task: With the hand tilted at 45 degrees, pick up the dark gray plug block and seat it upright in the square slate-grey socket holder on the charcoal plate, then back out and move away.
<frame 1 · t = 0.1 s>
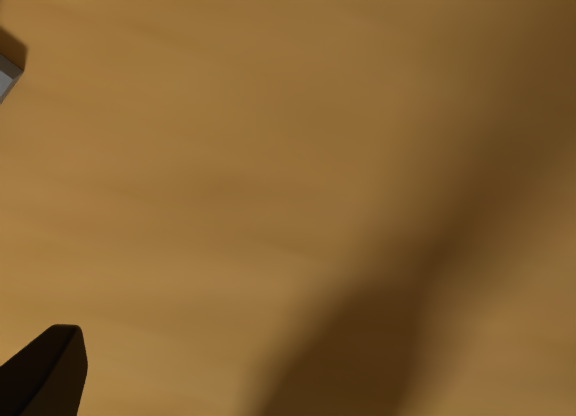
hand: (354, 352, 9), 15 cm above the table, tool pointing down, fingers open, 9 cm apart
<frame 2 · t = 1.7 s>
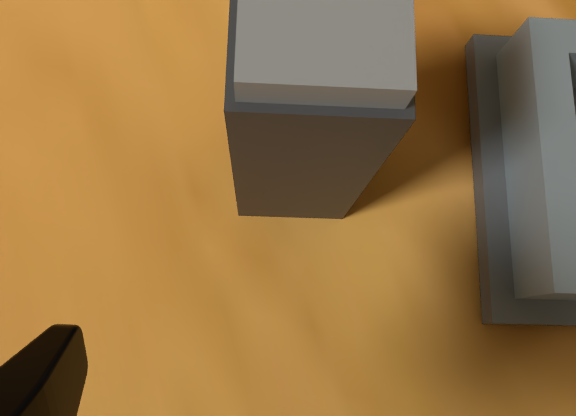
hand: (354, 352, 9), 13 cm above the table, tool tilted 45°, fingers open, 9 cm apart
dark gray plug block: (291, 167, 24), on the table
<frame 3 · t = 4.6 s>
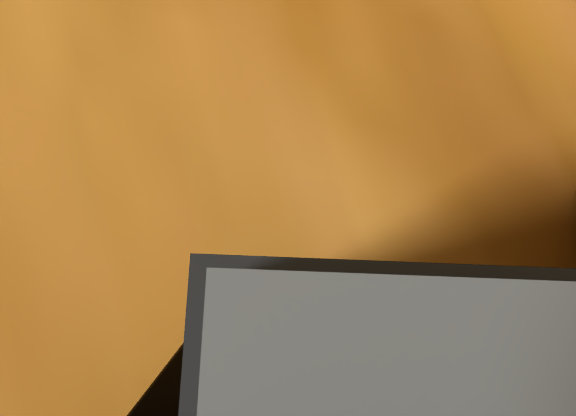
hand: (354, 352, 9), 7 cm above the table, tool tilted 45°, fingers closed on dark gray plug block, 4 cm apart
dark gray plug block: (312, 399, 15), on the table, touching gripper
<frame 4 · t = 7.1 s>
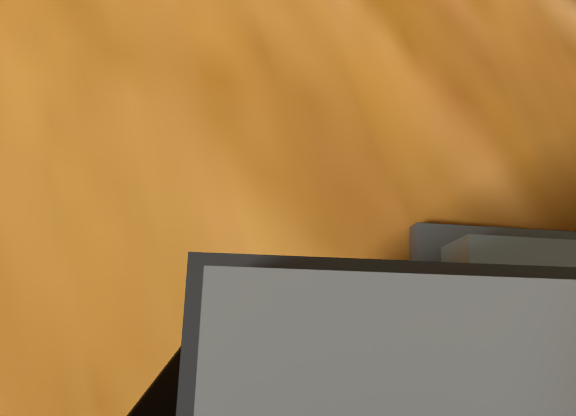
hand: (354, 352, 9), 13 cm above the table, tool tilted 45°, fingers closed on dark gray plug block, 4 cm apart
socket holder: (566, 390, 22), on the table
dark gray plug block: (312, 398, 15), point 7 cm above the table, touching gripper
when the fingers open (9 cm above the table, at t = 9.8 s): dark gray plug block stays where it is, resting on socket holder.
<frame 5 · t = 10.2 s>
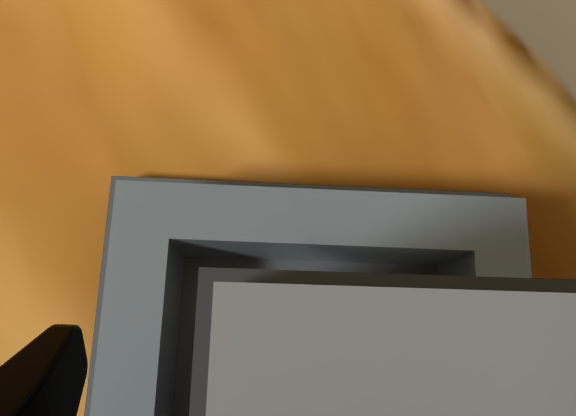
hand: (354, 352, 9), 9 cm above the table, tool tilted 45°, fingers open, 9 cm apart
socket holder: (306, 392, 17), on the table
dark gray plug block: (309, 394, 16), point 1 cm above the table, touching socket holder
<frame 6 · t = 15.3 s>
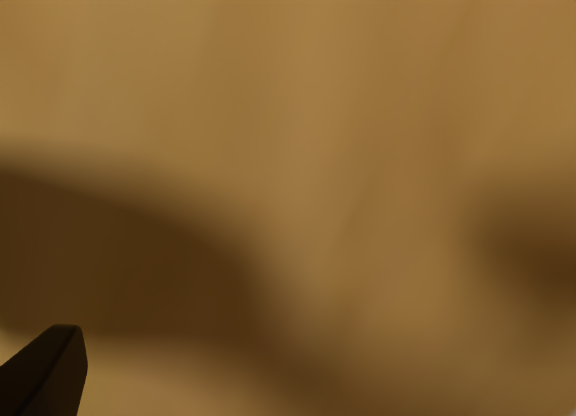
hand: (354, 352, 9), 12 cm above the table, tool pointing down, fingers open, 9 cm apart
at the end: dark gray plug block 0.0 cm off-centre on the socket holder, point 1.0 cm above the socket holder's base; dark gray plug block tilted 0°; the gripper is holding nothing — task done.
